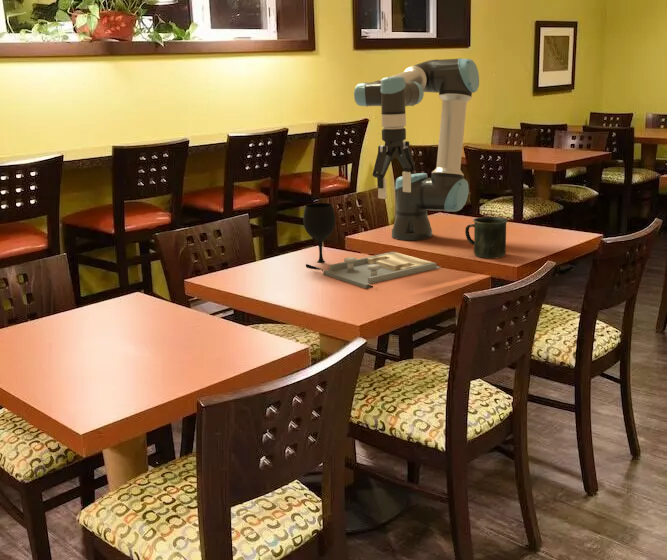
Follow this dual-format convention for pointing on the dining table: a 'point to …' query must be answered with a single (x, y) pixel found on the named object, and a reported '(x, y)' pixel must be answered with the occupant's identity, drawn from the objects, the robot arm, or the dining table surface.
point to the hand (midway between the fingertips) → (394, 195)
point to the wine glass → (319, 224)
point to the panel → (397, 261)
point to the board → (369, 271)
